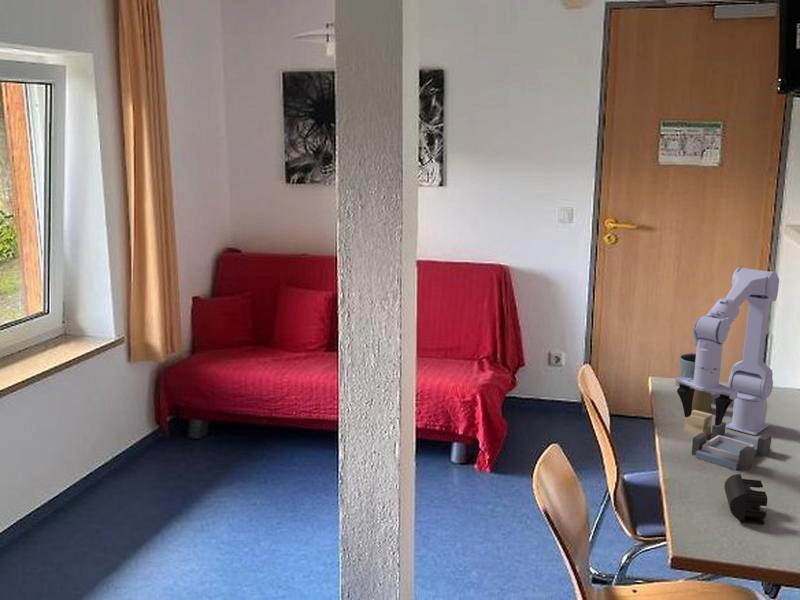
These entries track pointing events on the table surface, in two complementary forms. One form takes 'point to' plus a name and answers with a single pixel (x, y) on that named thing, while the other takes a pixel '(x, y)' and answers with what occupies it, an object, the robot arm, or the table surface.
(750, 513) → the end cap
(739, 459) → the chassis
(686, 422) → the block
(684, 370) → the grey-green cup
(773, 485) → the table surface
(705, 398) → the cork
